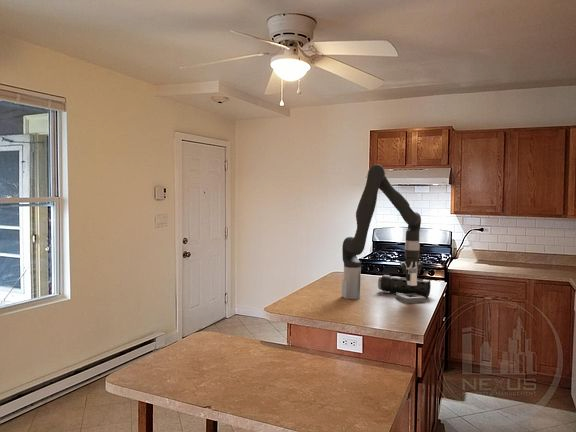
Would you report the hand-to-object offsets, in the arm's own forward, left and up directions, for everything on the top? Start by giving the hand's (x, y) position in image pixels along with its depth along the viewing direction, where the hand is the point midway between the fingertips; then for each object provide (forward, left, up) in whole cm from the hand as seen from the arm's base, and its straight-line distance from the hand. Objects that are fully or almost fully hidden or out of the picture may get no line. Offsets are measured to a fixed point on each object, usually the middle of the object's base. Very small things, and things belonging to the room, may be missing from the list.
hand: (411, 280), depth 234 cm
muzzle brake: (+3, +13, -11) cm, 17 cm away
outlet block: (0, -1, -11) cm, 11 cm away
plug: (0, -1, -2) cm, 3 cm away
